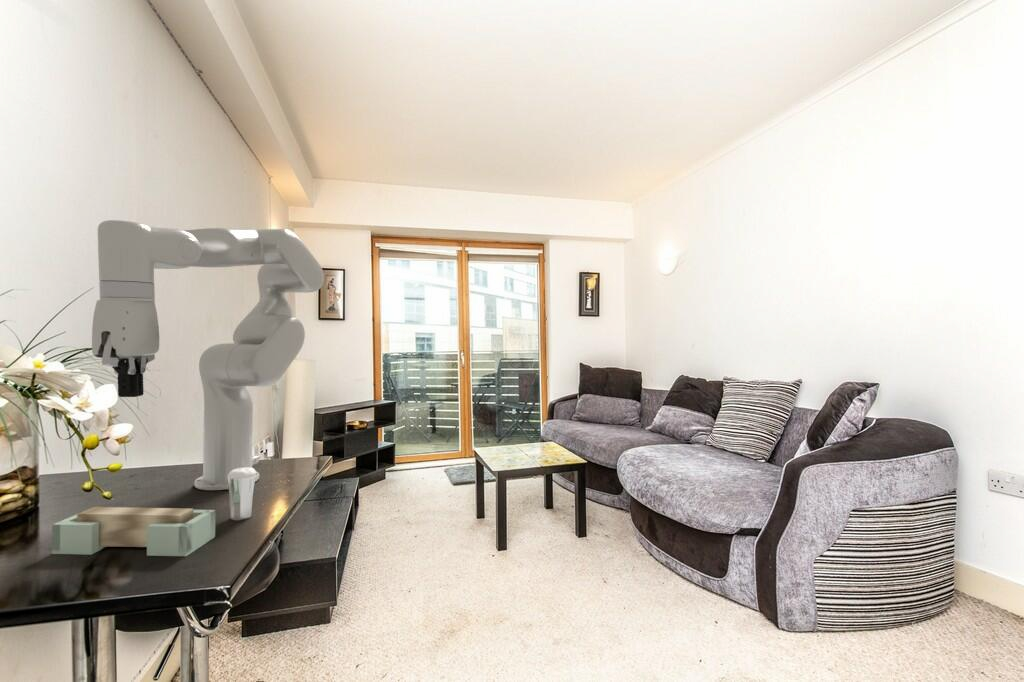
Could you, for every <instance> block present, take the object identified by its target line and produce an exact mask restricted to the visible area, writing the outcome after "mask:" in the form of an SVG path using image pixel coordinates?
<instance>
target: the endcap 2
mask: <svg viewBox="0 0 1024 682" xmlns="http://www.w3.org/2000/svg"><path fill="white" fill-rule="evenodd" d="M214 538H216V509H193V519H191V520H190V521H188V522H186V523H184V524H183V523H152V524H150V525H148V526H147V547H146V556H149V557H151V556H154V557H155V556H156V557H188V556H189V555H191V554H192V553H194V552H195V551H196V550H198V549H200V548H201V547H203V546H204V545H205V544H207V543H208V542H210V541H211V540H213V539H214Z"/></svg>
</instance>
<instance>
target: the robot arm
mask: <svg viewBox="0 0 1024 682" xmlns="http://www.w3.org/2000/svg"><path fill="white" fill-rule="evenodd" d="M97 226H98V227H97V254H98V255H97V256H98V260H97V261H98V278H99V279H98V280H99V281H98V285H99V299H97V300H96V303H95V308H94V310H93V318H92V327H91V328H92V329H91V330H92V331H91V353H92V356H93V357H95V358H98V359H101V364H102V366H105V367H111V368H112V369H113V370H114V371H113V372H114V374H115V376H116V375H117V395H118V397H119V398H137V397H140V396H143V395H145V394H144V393H145V392H144V373H146V368H147V364H148V363H151V362H152V361H154V360H155V359H156V357H155V354H156V353H158V352H159V349H160V327H159V326H160V325H159V317H158V312H157V307H156V303H155V302H156V297H155V296H156V295H155V292H156V291H155V271H154V270H157V269H159V270H162V269H163V270H180V269H187V268H190V267H192V268H193V267H196V268H230V267H231V268H233V267H245V266H247V267H248V266H256V265H257V266H258V265H261V266H260V268H259V269H258V271H257V283H258V284H257V285H258V292H259V300H258V302H257V304H256V305H255V306H254V307H253V308H252V309H251V311H250V312H248V314H247V315H246V316H245V317H244V318H243V319H242V320H241V321H240V323H238V325H237V326H236V327H235V329H234V331H233V334H232V341H233V343H228V342H227V343H219V344H214V345H212V346H209V347H208V348H207V349H205V350H204V351H203V352H202V353H201V355H200V358H199V362H198V370H199V375H200V380H201V384H202V390H203V452H202V453H203V455H202V457H203V459H202V460H203V461H202V462H203V463H202V465H203V467H202V475H201V476H199V477H197V478H196V479H195V480H194V487H195V488H196V489H198V490H202V491H224V490H229V486H228V476H227V475H228V474H229V473H230V472H231V471H232V470H233V469H238V468H242V459H245V467H244V468H246V467H249V468H250V467H251V468H253V466H254V465H256V464H258V463H259V462H260V456H258V455H255V454H254V455H253V422H254V421H253V418H254V417H253V415H254V412H253V411H254V404H253V398H252V397H251V394H250V392H249V390H248V388H247V387H255V388H256V387H263V388H264V387H269V386H273V385H274V384H275V383H277V382H278V381H280V379H282V377H283V375H284V374H285V372H286V371H287V370H288V368H289V367H290V366H291V365H292V363H293V361H294V360H295V358H296V357H297V356H298V354H299V353H300V352H301V349H303V345H304V344H305V337H306V336H305V334H306V331H305V327H304V325H303V323H302V322H301V320H300V319H298V318H297V317H295V316H293V312H292V311H293V309H292V307H291V304H290V303H289V301H288V299H287V296H286V293H314V292H318V291H319V290H320V289H322V287H323V285H324V282H325V275H324V274H325V273H324V270H323V268H322V265H320V262H319V261H318V260H317V259H316V257H315V256H314V255H313V253H312V252H311V251H310V249H309V248H308V247H307V246H306V244H305V243H304V242H303V241H302V240H301V239H300V238H299V236H297V235H296V234H295V233H294V232H292V231H291V230H289V229H285V228H270V229H269V228H267V229H266V228H263V229H261V228H260V229H259V228H258V229H253V228H252V229H250V228H249V229H248V228H228V227H227V228H224V227H212V228H210V227H209V228H208V227H207V228H196V229H179V228H166V227H165V228H164V227H154V226H148V225H146V224H143V223H140V222H135V221H128V220H118V219H117V220H116V219H115V220H113V219H112V220H111V219H110V220H104V221H101V222H100V223H99V224H98V225H97ZM255 471H256V476H255V483H256V482H257V481H258V480H260V472H258V471H257V470H255Z"/></svg>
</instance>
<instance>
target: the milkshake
mask: <svg viewBox="0 0 1024 682" xmlns="http://www.w3.org/2000/svg"><path fill="white" fill-rule="evenodd" d="M244 467H245V459H242V468H238V469H233V470H232V471H231V472H230V473H229V474H228V475H227V476H228V486H229V489H228V492H229V493H228V495H229V507H230V508H229V511H230V520H233V521H243V520H247V519H248V518H251V516H252V507H253V497H254V489H255V483H256V482H255V476H256V471H257V470H256V469H255V468H253V467H252V468H251V467H250V468H249V467H246V468H244Z"/></svg>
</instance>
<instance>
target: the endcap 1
mask: <svg viewBox="0 0 1024 682" xmlns="http://www.w3.org/2000/svg"><path fill="white" fill-rule="evenodd" d="M51 528H52V530H51V531H52V533H51V534H52V535H51V536H52V537H51V538H52V539H51V542H52V543H51V548H52V549H51V553H52V555H93V554H95V553H97V552H99V551H101V550H103V549H105V548H107V547H108V546H99V522H77V514H74V515H72V516H70V517H67V518H65V519H63V520H60V521H58V522H55V523H53V524H52V527H51Z"/></svg>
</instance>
